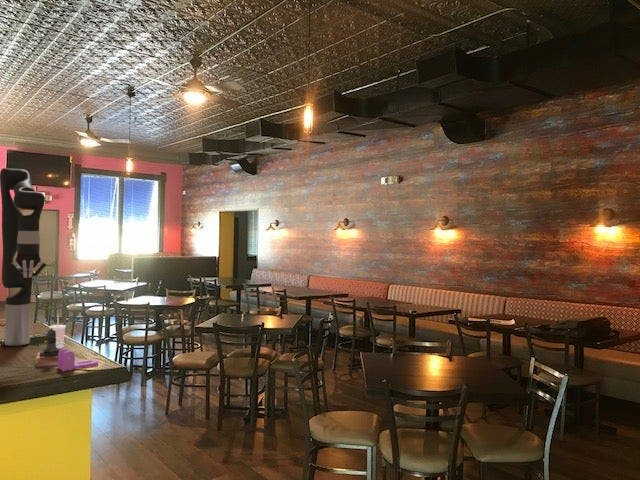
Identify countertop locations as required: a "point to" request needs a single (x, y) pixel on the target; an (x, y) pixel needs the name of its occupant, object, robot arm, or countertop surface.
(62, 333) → the beverage cup
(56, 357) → the shaker holder
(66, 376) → the countertop surface
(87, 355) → the countertop surface
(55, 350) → the salt shaker
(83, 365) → the bracket
